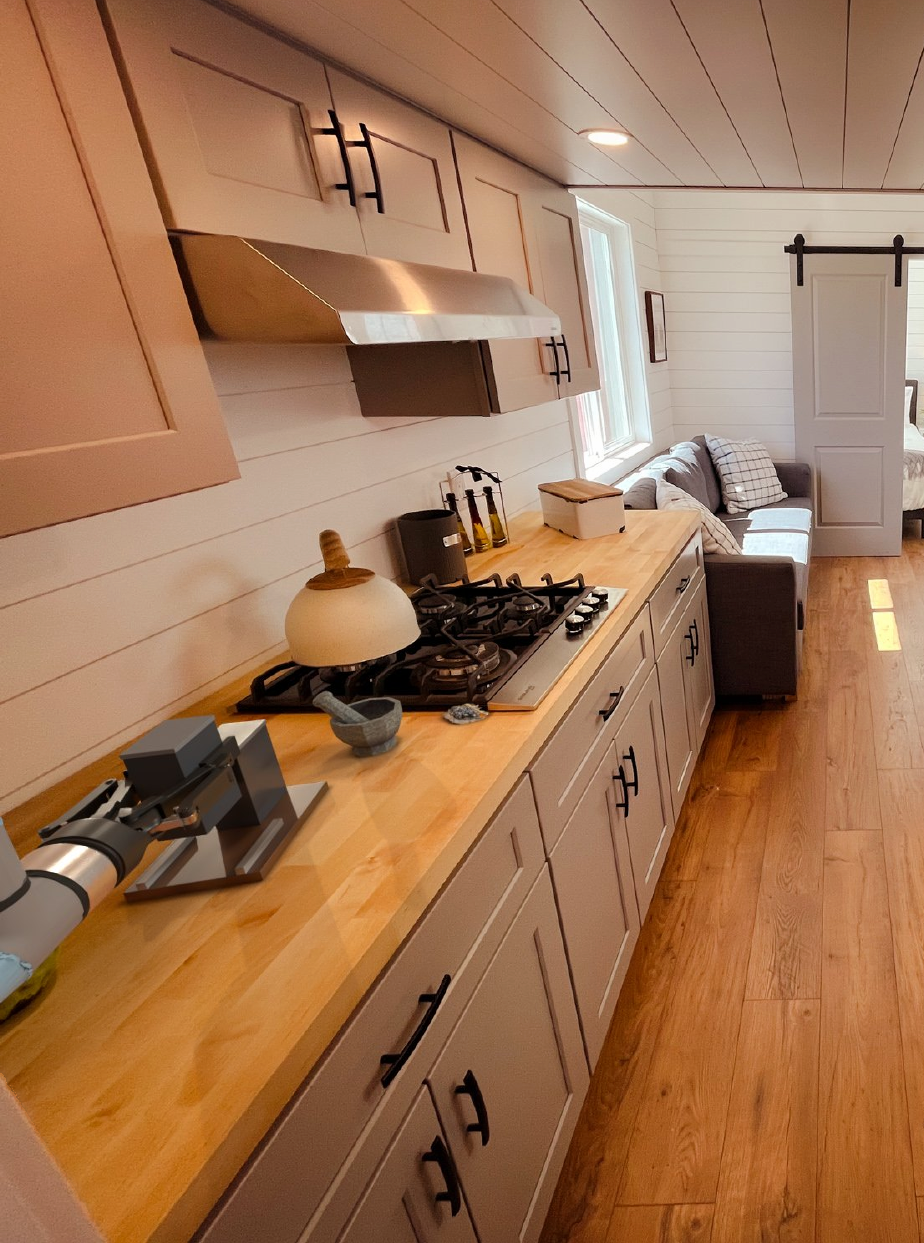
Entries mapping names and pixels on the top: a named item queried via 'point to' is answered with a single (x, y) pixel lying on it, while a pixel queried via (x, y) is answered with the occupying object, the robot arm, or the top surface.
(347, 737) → the mortar and pestle
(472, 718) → the blueberries
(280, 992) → the top surface
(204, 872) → the pad base
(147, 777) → the loose pad
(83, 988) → the top surface
